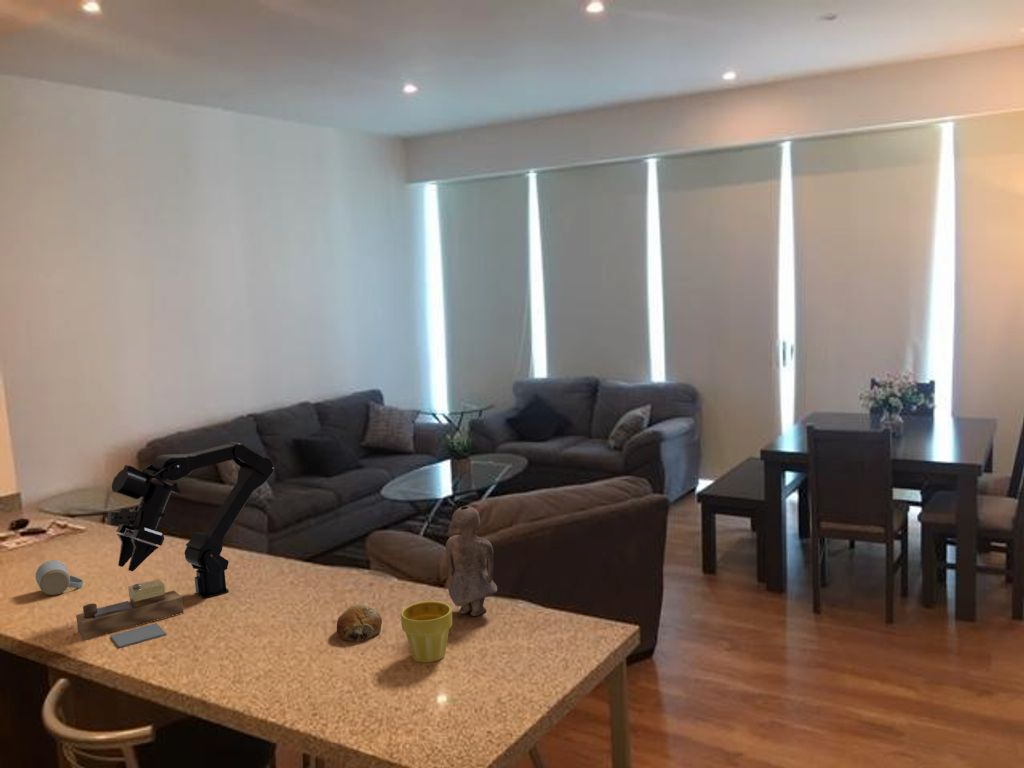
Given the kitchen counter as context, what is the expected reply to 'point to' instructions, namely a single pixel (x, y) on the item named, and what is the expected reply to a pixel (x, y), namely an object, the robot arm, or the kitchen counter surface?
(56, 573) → the ceramic mug
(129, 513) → the robot arm
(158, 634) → the mat
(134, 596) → the lever cap
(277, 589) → the kitchen counter surface
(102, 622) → the plane body
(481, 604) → the clay figurine
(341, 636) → the bread roll
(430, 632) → the plant pot
